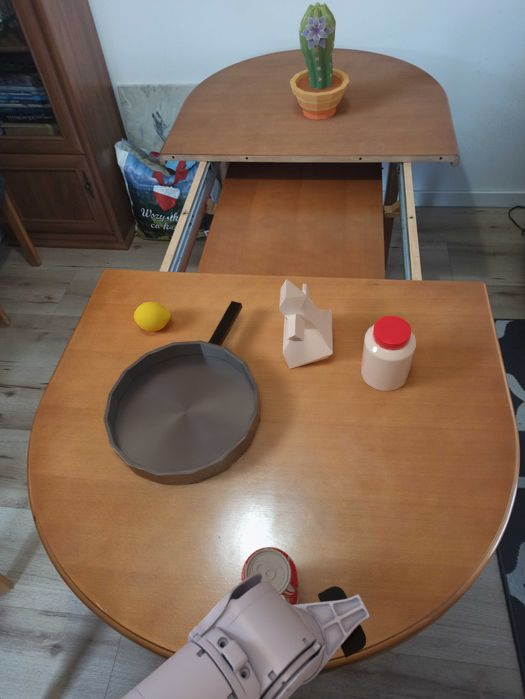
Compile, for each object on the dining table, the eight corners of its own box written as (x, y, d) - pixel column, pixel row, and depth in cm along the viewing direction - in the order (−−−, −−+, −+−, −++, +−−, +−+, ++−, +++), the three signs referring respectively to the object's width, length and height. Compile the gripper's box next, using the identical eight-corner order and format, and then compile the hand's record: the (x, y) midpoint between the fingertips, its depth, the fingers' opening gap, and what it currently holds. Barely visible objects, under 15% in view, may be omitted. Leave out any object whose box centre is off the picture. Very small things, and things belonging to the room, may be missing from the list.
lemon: (134, 337, 91) (125, 318, 87) (140, 314, 94) (132, 295, 90) (171, 337, 90) (164, 317, 86) (176, 314, 94) (170, 295, 89)
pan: (222, 507, 70) (218, 498, 67) (83, 455, 77) (74, 444, 74) (300, 330, 89) (299, 317, 86) (182, 301, 95) (178, 287, 92)
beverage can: (308, 586, 63) (307, 562, 54) (283, 633, 60) (277, 617, 51) (267, 559, 66) (259, 532, 56) (241, 604, 63) (228, 583, 53)
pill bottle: (356, 385, 81) (361, 344, 72) (364, 348, 85) (370, 306, 76) (404, 395, 79) (416, 354, 70) (410, 357, 83) (422, 314, 74)
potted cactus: (279, 116, 134) (272, 10, 114) (313, 91, 141) (312, -13, 121) (325, 132, 127) (327, 23, 107) (359, 105, 134) (367, -2, 114)
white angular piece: (331, 311, 91) (333, 255, 80) (332, 375, 82) (334, 322, 71) (285, 311, 92) (281, 256, 81) (281, 374, 83) (276, 322, 72)
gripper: (339, 553, 42) (347, 573, 53) (185, 634, 41) (227, 637, 53) (383, 640, 38) (382, 642, 50) (214, 732, 37) (252, 712, 49)
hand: (304, 644), depth 51 cm, fingers open, 7 cm apart
